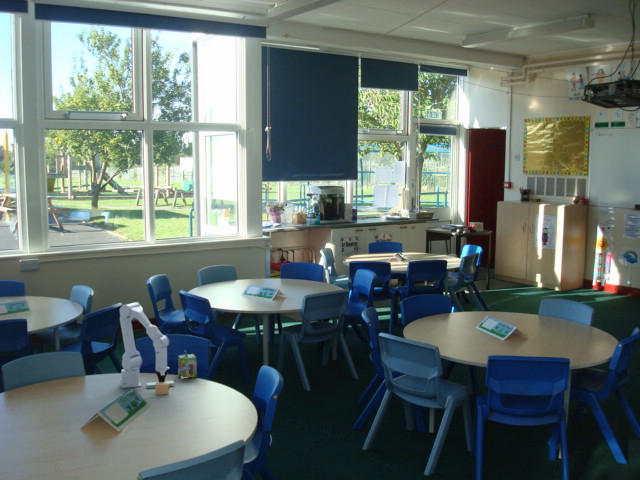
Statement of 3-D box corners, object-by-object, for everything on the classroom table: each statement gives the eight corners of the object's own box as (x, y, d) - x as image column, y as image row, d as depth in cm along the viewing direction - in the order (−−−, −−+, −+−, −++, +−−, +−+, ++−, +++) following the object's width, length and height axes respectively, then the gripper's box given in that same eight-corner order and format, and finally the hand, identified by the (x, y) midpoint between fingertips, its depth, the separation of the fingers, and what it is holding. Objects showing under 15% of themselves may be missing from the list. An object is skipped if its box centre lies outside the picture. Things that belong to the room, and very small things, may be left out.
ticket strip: (147, 388, 334) (147, 385, 334) (146, 385, 338) (146, 382, 338) (174, 386, 338) (174, 383, 338) (173, 383, 343) (173, 380, 343)
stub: (156, 394, 324) (156, 385, 324) (155, 391, 329) (155, 382, 329) (168, 393, 326) (168, 384, 326) (167, 390, 331) (167, 381, 331)
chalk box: (197, 377, 354) (196, 351, 353) (180, 379, 351) (180, 353, 349) (194, 373, 362) (193, 347, 361) (177, 374, 359) (177, 349, 358)
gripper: (170, 362, 324) (170, 388, 325) (167, 355, 338) (168, 380, 339) (156, 363, 322) (156, 390, 323) (154, 356, 336) (154, 381, 337)
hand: (161, 385), depth 331 cm, fingers closed
